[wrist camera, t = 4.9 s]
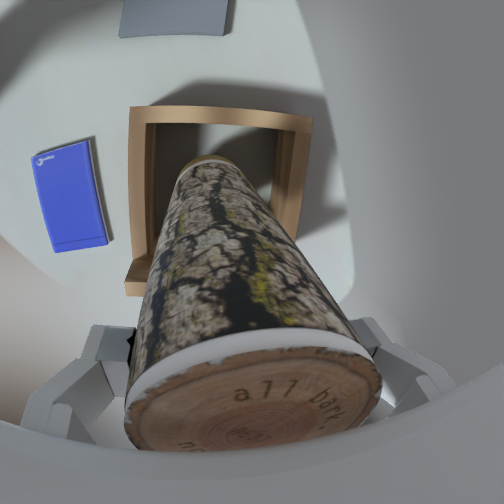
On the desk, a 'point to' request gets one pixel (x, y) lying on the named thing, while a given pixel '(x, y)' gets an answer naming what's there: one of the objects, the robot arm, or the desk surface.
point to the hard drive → (70, 197)
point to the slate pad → (173, 17)
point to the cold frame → (146, 118)
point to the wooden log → (239, 330)
